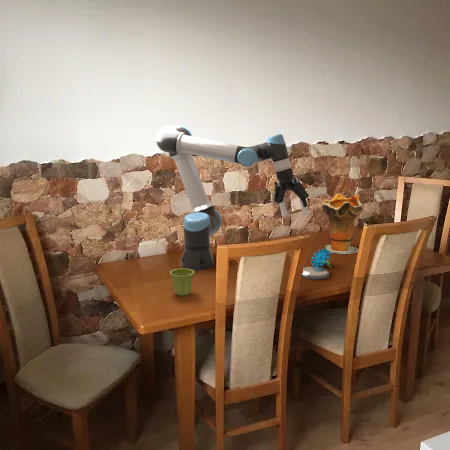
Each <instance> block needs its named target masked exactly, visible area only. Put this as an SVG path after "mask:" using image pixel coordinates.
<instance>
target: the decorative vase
mask: <svg viewBox="0 0 450 450" xmlns="http://www.w3.org/2000/svg"><path fill="white" fill-rule="evenodd" d="M360 197H361V195H360V194H354V195H351V197H346V196H344V195H343V194H342V193H336V194H335V195H334V197H333V198H332V199H330V200H329V199H324V200H323V202H322V203H321V207H322V212H323V213H325V214H326V216H327V217H328V222H329V223H328V228H329V229H328V231H329V237H328V241H329V240H330V244H326V245H325V246H324V247H323V249H325V250H327V249H328V250H329V252H330V253H333V254H339V255H340V254H341V255H346V254H354V253H358V252H359V251H358V250H359V248H357V247H356V246H353V245H352V240H354V238H353V234H354V226H355V220H356V218H357V217H358V216H359V214H361V213H363V212H364V210H365V209H364V206H363V204H362V203H361V201H360ZM328 241H327V242H326V243H328Z"/></svg>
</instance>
